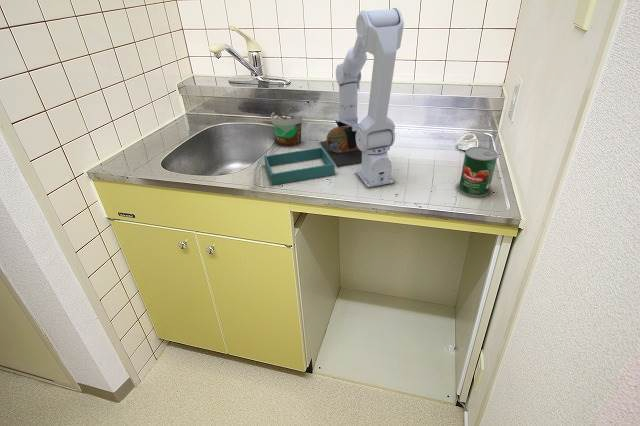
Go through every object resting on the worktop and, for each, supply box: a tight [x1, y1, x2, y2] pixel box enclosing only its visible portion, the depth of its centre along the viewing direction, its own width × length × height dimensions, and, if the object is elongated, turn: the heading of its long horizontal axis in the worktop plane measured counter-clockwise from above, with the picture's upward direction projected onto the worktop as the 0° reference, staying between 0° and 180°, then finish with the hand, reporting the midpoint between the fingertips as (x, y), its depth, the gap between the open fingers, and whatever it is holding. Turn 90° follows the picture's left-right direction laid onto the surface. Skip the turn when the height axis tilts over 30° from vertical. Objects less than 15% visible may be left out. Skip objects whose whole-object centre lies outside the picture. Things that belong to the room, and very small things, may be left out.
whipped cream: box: [457, 133, 480, 151], centre depth 125 cm, size 8×7×5 cm
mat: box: [320, 140, 362, 168], centre depth 129 cm, size 20×16×1 cm
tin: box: [325, 125, 360, 153], centre depth 126 cm, size 15×3×8 cm, turn 105°
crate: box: [264, 146, 336, 186], centre depth 117 cm, size 13×19×4 cm
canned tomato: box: [458, 146, 499, 198], centre depth 101 cm, size 8×8×11 cm
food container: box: [270, 111, 304, 147], centre depth 133 cm, size 12×6×10 cm, turn 62°
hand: (348, 144), depth 127 cm, fingers open, 7 cm apart
